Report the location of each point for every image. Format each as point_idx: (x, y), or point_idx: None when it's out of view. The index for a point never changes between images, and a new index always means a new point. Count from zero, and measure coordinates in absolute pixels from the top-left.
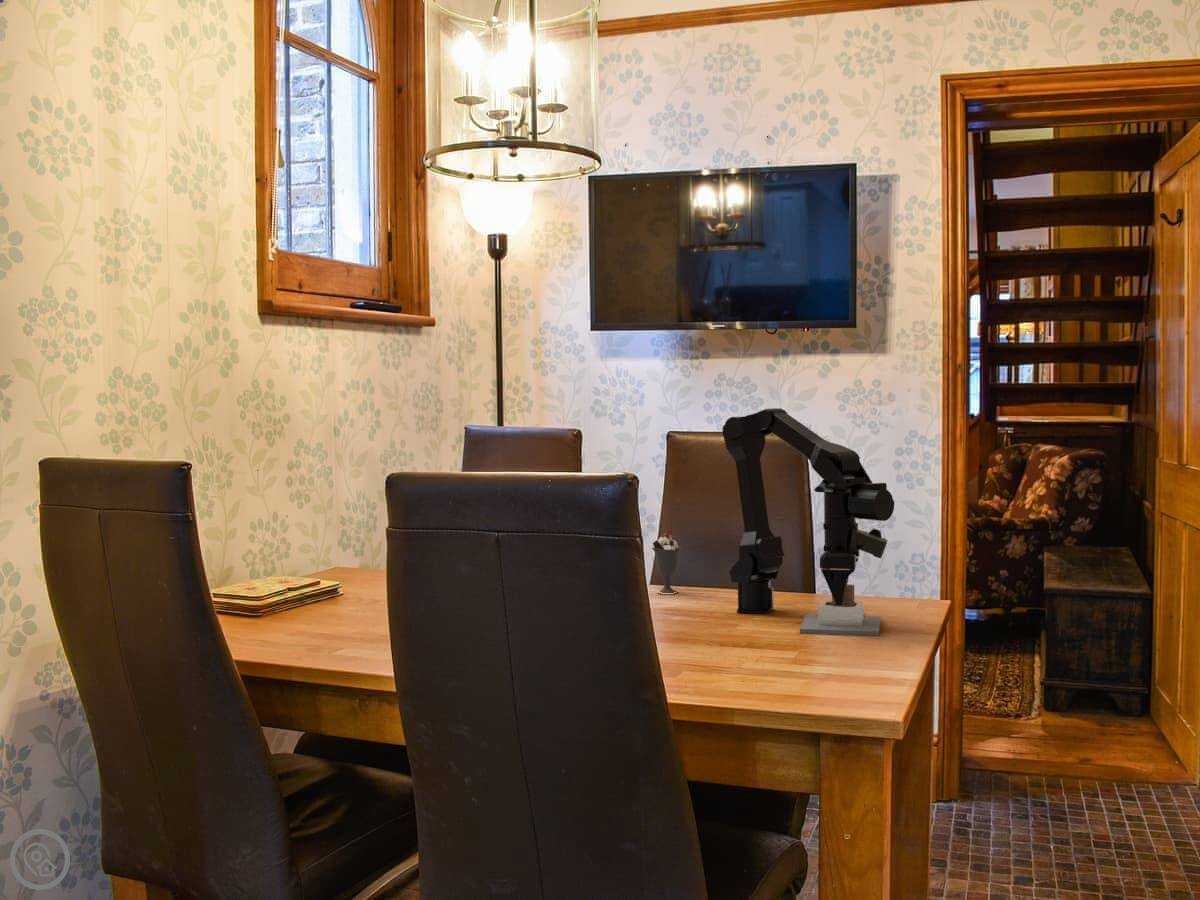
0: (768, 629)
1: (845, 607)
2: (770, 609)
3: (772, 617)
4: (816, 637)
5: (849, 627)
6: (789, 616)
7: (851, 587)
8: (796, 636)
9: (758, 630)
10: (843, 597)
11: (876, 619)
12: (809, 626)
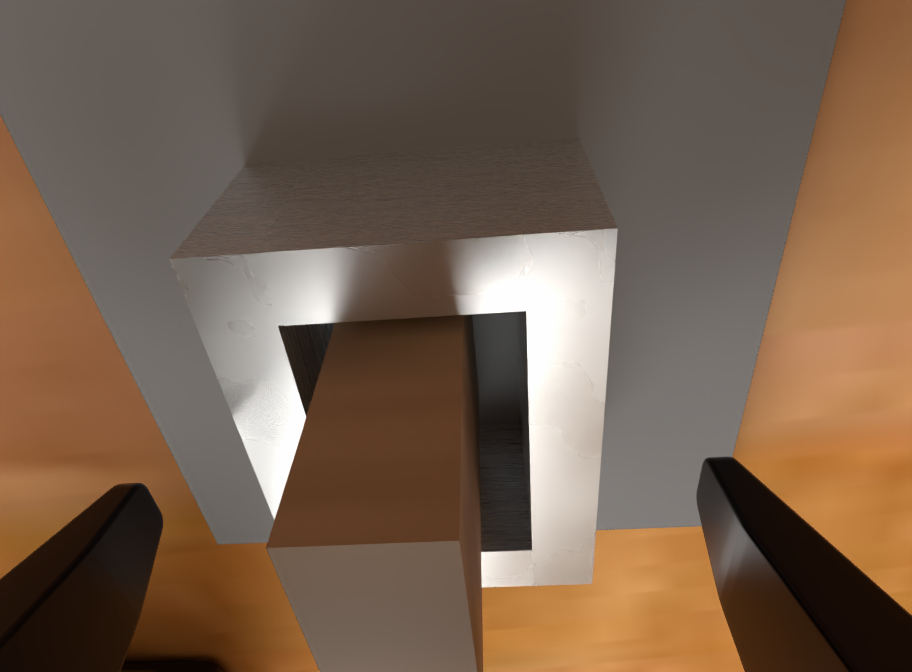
0: (606, 617)
1: (603, 398)
2: (132, 668)
3: (283, 636)
4: (846, 411)
5: (642, 247)
6: (214, 588)
7: (464, 548)
8: (803, 504)
9: (637, 642)
10: (765, 514)
11: (144, 30)
12: (632, 491)
